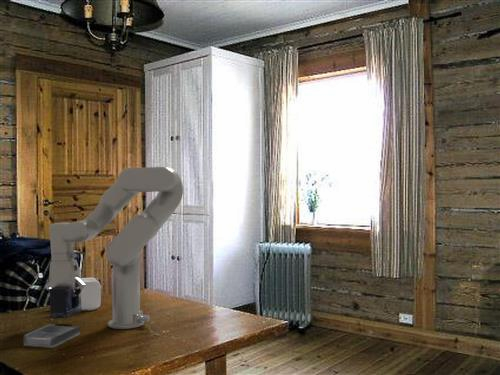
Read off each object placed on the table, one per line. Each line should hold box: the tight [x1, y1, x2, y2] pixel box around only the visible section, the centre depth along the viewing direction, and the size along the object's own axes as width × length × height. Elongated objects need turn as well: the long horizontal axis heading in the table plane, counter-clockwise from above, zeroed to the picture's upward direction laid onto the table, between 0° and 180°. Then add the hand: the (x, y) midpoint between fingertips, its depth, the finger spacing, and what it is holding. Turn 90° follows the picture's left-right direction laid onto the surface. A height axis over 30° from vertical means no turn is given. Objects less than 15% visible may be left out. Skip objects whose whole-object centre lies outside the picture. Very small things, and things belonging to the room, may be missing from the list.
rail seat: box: [23, 322, 81, 349], centre depth 164 cm, size 10×14×3 cm
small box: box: [49, 287, 83, 319], centre depth 181 cm, size 11×6×10 cm, turn 168°
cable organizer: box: [80, 277, 102, 311], centre depth 206 cm, size 15×11×12 cm
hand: (66, 306), depth 181 cm, fingers closed on small box, 6 cm apart
